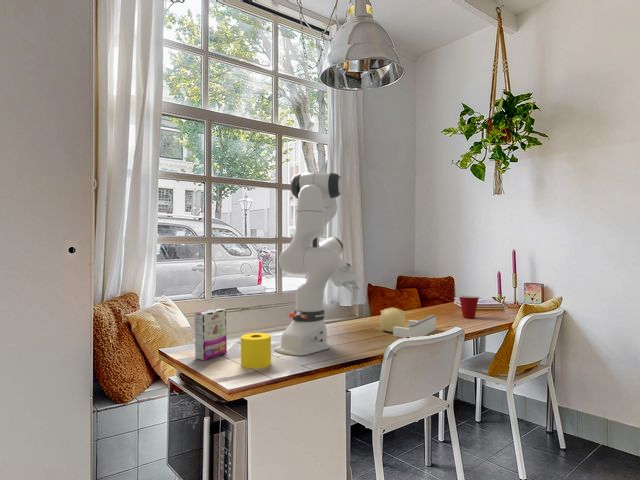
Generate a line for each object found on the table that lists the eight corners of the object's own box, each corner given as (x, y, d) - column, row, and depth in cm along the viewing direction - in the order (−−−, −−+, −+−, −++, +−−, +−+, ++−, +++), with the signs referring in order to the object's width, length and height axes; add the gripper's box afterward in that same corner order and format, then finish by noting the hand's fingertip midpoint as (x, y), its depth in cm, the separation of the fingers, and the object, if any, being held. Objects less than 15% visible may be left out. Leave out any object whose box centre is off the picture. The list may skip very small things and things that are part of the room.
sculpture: (404, 328, 196) (404, 305, 196) (405, 334, 184) (405, 310, 184) (380, 328, 198) (380, 305, 198) (379, 333, 186) (379, 309, 186)
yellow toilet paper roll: (236, 363, 142) (236, 335, 142) (262, 358, 148) (262, 331, 148) (248, 370, 134) (248, 341, 134) (276, 365, 140) (276, 336, 140)
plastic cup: (481, 317, 224) (481, 295, 224) (477, 320, 215) (477, 297, 215) (461, 315, 230) (461, 293, 230) (456, 318, 221) (456, 295, 221)
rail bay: (413, 341, 171) (413, 325, 171) (388, 338, 177) (388, 322, 177) (435, 329, 194) (435, 315, 194) (413, 326, 200) (413, 312, 200)
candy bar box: (217, 351, 156) (217, 308, 156) (227, 353, 154) (227, 309, 154) (194, 358, 147) (193, 312, 147) (203, 361, 144) (203, 313, 144)
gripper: (330, 266, 197) (348, 288, 192) (352, 264, 214) (369, 284, 209) (322, 275, 200) (340, 297, 194) (344, 272, 217) (361, 292, 211)
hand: (355, 290), depth 201 cm, fingers open, 4 cm apart
